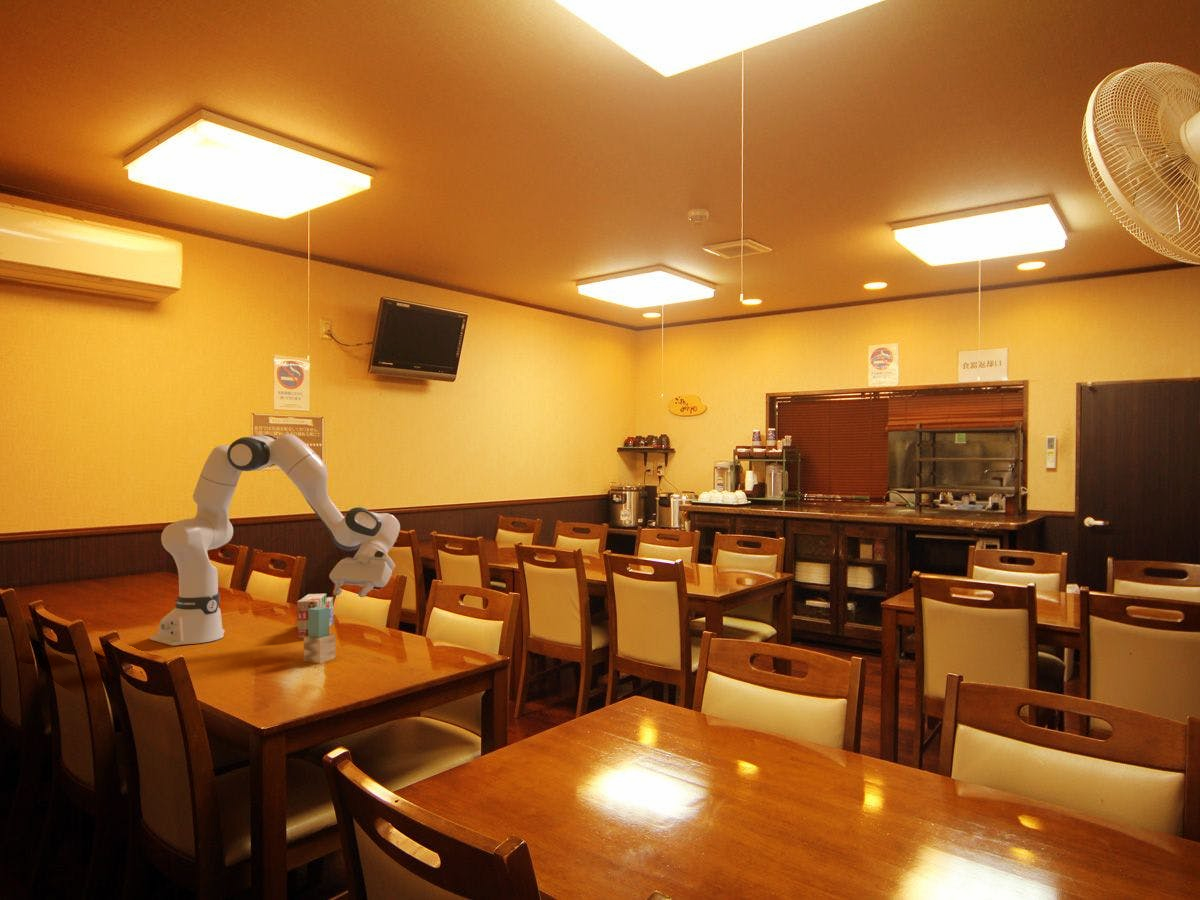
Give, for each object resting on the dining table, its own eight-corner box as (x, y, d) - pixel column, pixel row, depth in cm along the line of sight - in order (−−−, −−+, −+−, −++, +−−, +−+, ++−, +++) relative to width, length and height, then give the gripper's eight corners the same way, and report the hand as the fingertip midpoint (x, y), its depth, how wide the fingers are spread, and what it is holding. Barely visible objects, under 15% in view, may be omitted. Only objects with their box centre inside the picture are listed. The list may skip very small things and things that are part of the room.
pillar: (308, 636, 217) (308, 609, 217) (318, 633, 221) (318, 606, 221) (318, 638, 216) (318, 610, 216) (329, 635, 219) (329, 607, 219)
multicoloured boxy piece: (315, 623, 263) (315, 588, 263) (334, 623, 264) (334, 588, 264) (297, 639, 242) (297, 600, 242) (317, 638, 243) (317, 600, 243)
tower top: (303, 649, 216) (303, 637, 216) (319, 644, 222) (319, 632, 222) (320, 651, 214) (320, 639, 214) (335, 646, 220) (335, 634, 220)
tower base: (303, 661, 216) (303, 649, 216) (319, 656, 222) (319, 644, 222) (320, 664, 214) (320, 651, 214) (335, 658, 220) (335, 646, 220)
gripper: (338, 550, 240) (316, 586, 231) (391, 554, 232) (370, 591, 223) (348, 563, 244) (326, 598, 235) (400, 566, 237) (380, 603, 228)
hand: (348, 595), depth 229 cm, fingers open, 8 cm apart
